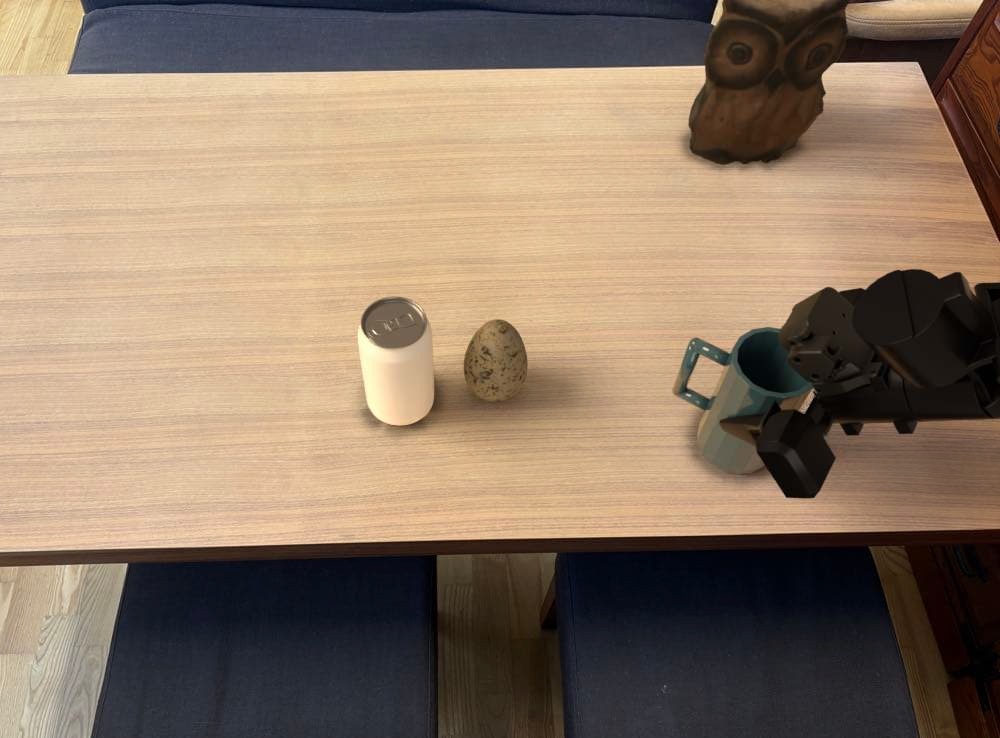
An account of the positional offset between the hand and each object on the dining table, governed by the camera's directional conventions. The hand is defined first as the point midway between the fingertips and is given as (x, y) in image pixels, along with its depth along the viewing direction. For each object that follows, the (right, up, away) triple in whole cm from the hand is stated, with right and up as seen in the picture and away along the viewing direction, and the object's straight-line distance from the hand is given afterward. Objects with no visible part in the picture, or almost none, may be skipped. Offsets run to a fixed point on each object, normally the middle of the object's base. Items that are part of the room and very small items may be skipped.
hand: (738, 395), depth 74 cm
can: (-30, 0, +8) cm, 31 cm away
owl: (+10, +32, +29) cm, 44 cm away
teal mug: (0, -3, +6) cm, 7 cm away
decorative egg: (-21, +1, +8) cm, 23 cm away
